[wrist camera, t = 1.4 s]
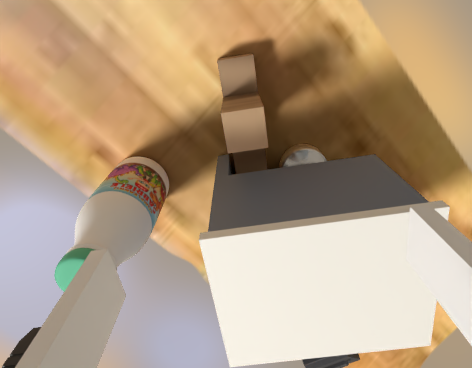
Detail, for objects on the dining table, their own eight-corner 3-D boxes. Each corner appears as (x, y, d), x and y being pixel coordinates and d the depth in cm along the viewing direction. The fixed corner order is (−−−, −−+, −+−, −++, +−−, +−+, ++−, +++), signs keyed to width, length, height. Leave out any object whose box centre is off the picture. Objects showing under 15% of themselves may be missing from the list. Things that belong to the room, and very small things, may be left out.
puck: (277, 146, 44) (279, 153, 41) (322, 139, 43) (328, 146, 41) (281, 187, 46) (284, 196, 43) (324, 181, 46) (329, 189, 43)
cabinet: (213, 153, 44) (198, 240, 26) (357, 131, 42) (449, 206, 24) (231, 245, 50) (229, 367, 32) (357, 228, 49) (430, 345, 31)
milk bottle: (159, 212, 48) (114, 325, 29) (107, 193, 46) (25, 299, 28) (178, 167, 45) (139, 262, 26) (122, 145, 43) (41, 229, 25)
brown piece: (218, 58, 39) (212, 68, 29) (252, 53, 38) (258, 60, 28) (244, 217, 48) (247, 266, 38) (272, 213, 48) (282, 262, 38)
